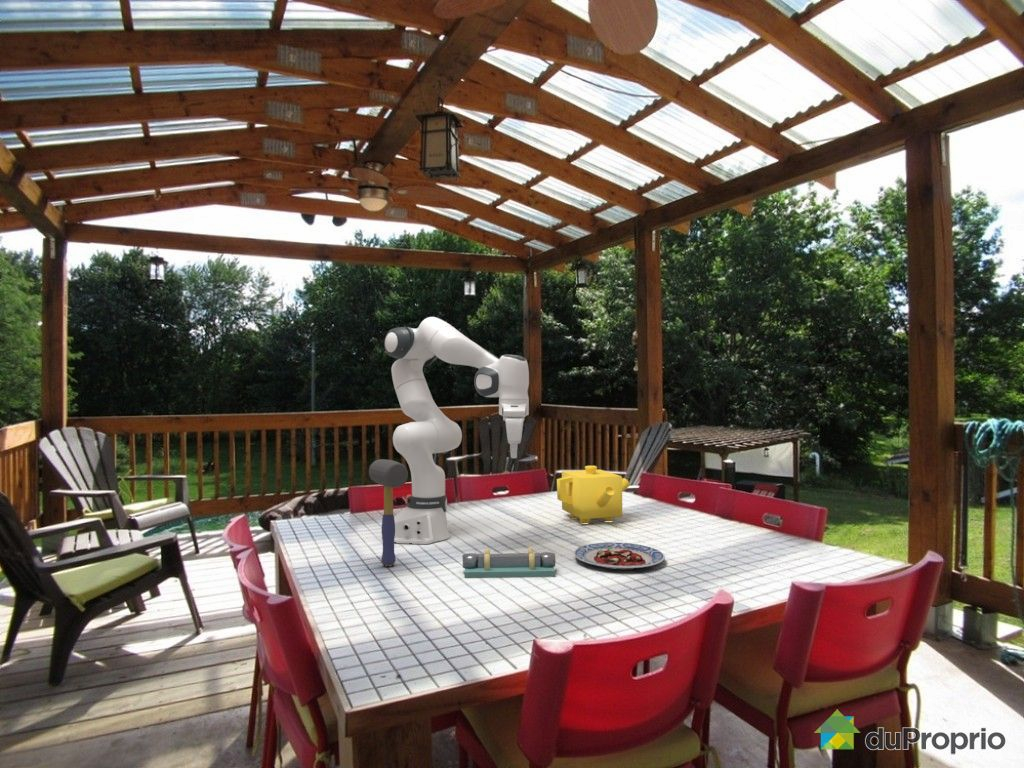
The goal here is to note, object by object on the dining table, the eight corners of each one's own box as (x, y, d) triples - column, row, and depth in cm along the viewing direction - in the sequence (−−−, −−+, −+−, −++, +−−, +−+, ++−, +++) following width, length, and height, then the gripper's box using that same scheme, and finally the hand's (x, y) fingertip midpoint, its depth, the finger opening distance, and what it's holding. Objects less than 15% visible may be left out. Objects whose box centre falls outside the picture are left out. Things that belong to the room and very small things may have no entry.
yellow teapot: (652, 526, 221) (652, 470, 221) (576, 532, 212) (576, 474, 212) (609, 507, 254) (609, 459, 254) (542, 512, 246) (542, 461, 246)
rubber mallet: (410, 568, 171) (410, 460, 171) (386, 573, 167) (385, 463, 167) (390, 558, 181) (390, 456, 181) (367, 563, 177) (366, 458, 177)
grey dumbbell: (462, 569, 166) (462, 557, 166) (462, 564, 170) (462, 553, 170) (556, 567, 166) (556, 556, 166) (554, 562, 171) (554, 552, 171)
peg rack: (464, 577, 163) (464, 557, 163) (466, 566, 173) (466, 547, 173) (554, 576, 164) (554, 555, 164) (551, 565, 174) (551, 546, 174)
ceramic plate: (680, 572, 168) (680, 561, 168) (589, 577, 163) (589, 566, 163) (644, 547, 193) (644, 537, 193) (564, 551, 189) (564, 542, 189)
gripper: (502, 407, 193) (502, 451, 193) (503, 411, 172) (503, 460, 172) (523, 407, 193) (522, 451, 193) (525, 411, 172) (525, 460, 173)
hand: (513, 455), depth 183 cm, fingers open, 8 cm apart
